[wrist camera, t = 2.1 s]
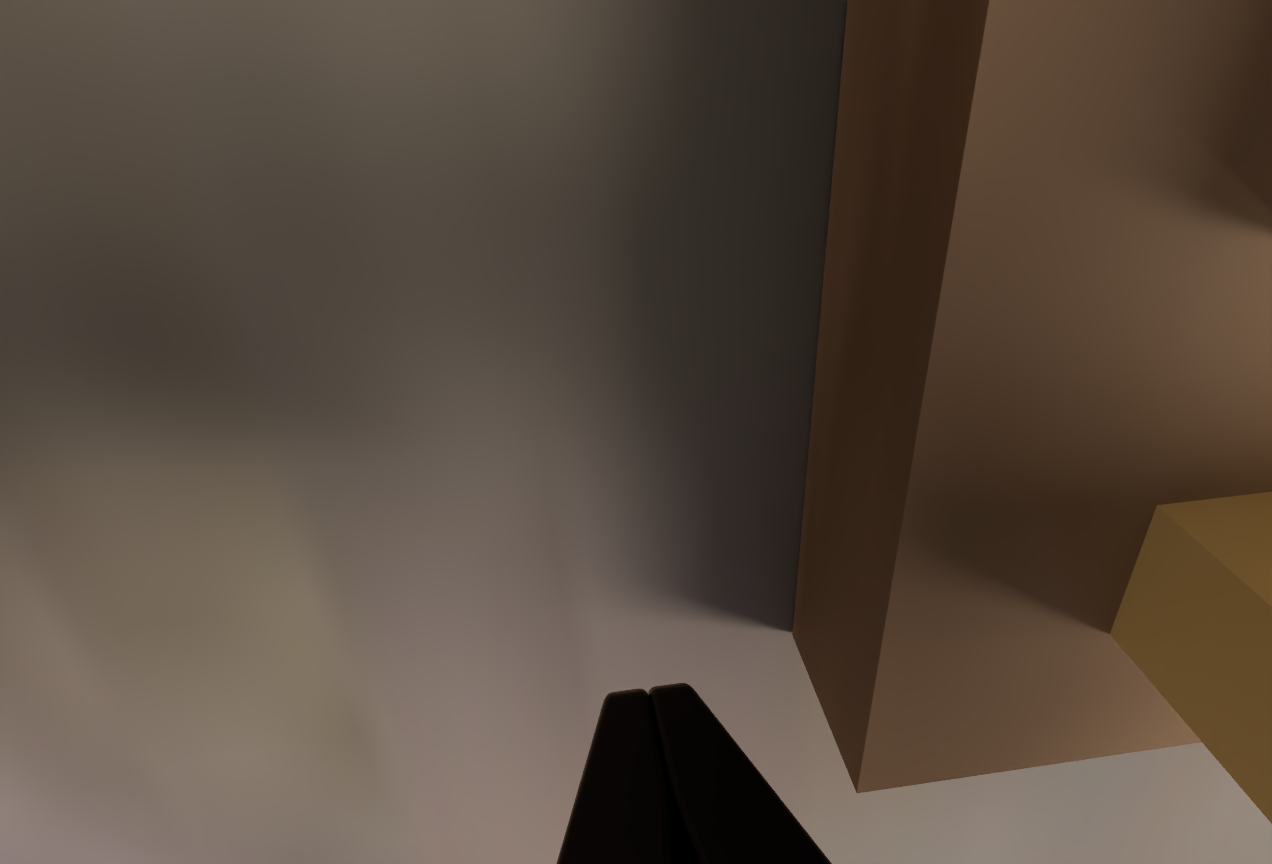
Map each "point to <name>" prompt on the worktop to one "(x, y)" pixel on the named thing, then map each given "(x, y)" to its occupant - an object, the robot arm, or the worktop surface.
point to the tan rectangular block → (1209, 627)
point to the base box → (1026, 364)
